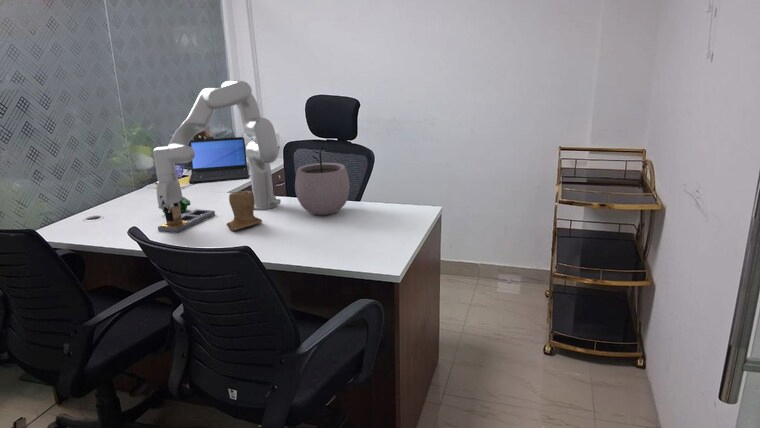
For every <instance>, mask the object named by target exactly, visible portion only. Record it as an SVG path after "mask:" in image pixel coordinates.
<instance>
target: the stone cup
mask: <svg viewBox="0 0 760 428" xmlns="http://www.w3.org/2000/svg"><path fill="white" fill-rule="evenodd" d="M228 202H229V206H230V209H231V210H232V213H233V216H234V217H233V219H232V220H231V221H229V222H226V226H227V228H228V229H229V230H230V231H233V232H234V231H237V230H242V229H245V228H249V227H251V226H255V225H257V224H260V223H262V222H263V219H261V218H259V217H257V216H255V213H254V210H255V209H254V204H255V200H254V195H253V192H252V190H243V191H235V192H231V193H229V196H228Z"/></svg>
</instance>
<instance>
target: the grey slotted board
mask: <svg viewBox="0 0 760 428" xmlns="http://www.w3.org/2000/svg"><path fill="white" fill-rule="evenodd" d="M198 214H202V215H198ZM181 216H182V223H181V224H179V225H177V226H169V225H167V222H165V223H162V224H160V225H158V226H157V230H158V232H164V231H165V232H166V233H173V234H174V233H175V234H176V233H177V234H178V233H181V232H183V231H184V230H187V229H189V228H191V227H193V226H195V225H197V224H199V222H200V223H201V221H202V222H204V221H205V219H206V220H208V219H210V218H212V217H214V216H216V211H215V210H208V209H198V208H197V209H194V210H192V211H190V212H186V213H185V214H183V215H182V214H181ZM207 218H208V219H207ZM185 220H186V221H185ZM203 220H204V221H203Z"/></svg>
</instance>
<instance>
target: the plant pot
mask: <svg viewBox="0 0 760 428" xmlns="http://www.w3.org/2000/svg"><path fill="white" fill-rule="evenodd" d="M323 148H324V146H321V148H320V151H318V152H317V151H314V150H313V153H315V154H319V159H318V158H317V157H316V156H314V155H312V154H311V156H312V158H313V159H316V162H317V163H308V164H305V165H301V166H298V167H297V169H296V173H295V179H294V190H295V195H296V199H297V200H298V202H299V204H300V206H301V207H302V208H303V209H304V210H306V212H309V213H311V214H312V215H316V216H327V215H331V214H334V213H337V212H338V211H340V210H342V208H343V207H344V206H345V205H346V204H347V201H348V199H349V194H350V189H351V187H350V185H351V184H350V178H349V174H348V170H347V167H346V165H344V164H342V163H339V162H322V151H323Z"/></svg>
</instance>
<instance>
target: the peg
mask: <svg viewBox="0 0 760 428" xmlns="http://www.w3.org/2000/svg"><path fill="white" fill-rule="evenodd" d="M166 208H167V209H168V207H166ZM171 212H172V216H173V221H172V222H171V221H166V220H165V223H167V225H169V226H177V225H179V224H181V223H182V211H181V210H180V206H173V205H171ZM164 217H165V218H166V216H164Z"/></svg>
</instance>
